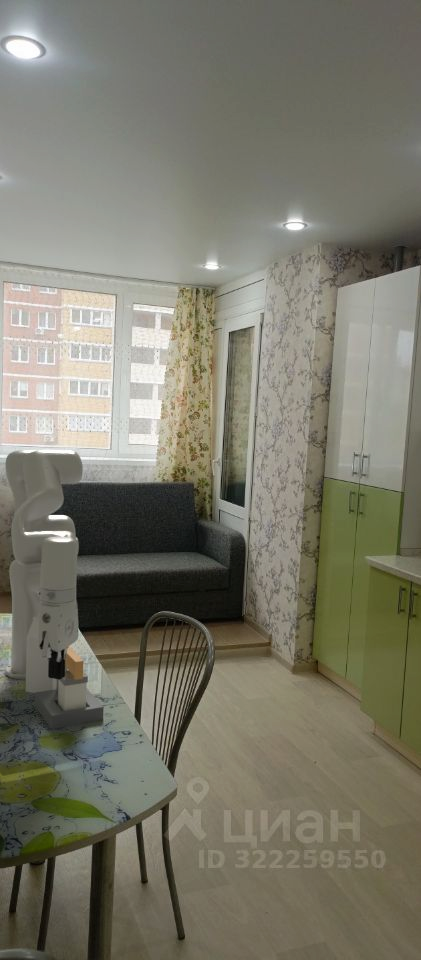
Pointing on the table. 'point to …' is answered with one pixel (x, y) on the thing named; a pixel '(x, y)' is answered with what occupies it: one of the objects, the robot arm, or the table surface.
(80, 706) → the plug
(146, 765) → the table surface
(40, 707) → the socket
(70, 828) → the table surface
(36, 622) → the milk carton
